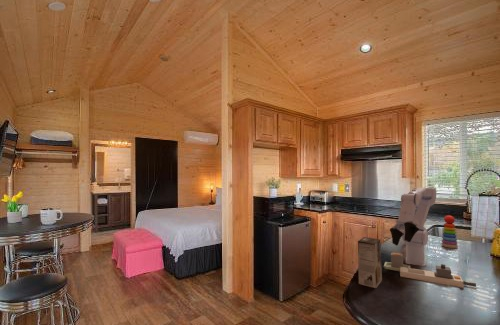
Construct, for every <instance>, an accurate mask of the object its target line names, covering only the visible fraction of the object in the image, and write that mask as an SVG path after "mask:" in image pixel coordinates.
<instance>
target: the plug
mask: <svg viewBox="0 0 500 325" xmlns="http://www.w3.org/2000/svg"><path fill="white" fill-rule="evenodd" d="M403 256H404V253H401V252H391V253H390V262H391V267H396V268H401V267H403V264H404V257H403Z"/></svg>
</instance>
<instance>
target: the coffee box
mask: <svg viewBox="0 0 500 325" xmlns="http://www.w3.org/2000/svg"><path fill="white" fill-rule="evenodd" d="M357 257H358V258H357V259H358V260H357V261H358V262H357V263H358V268H359V269H358V268H357V269H358V284H359V285H362V286H365V287H369V288H374V289H377V288H378V287H379V285H380V284H381V283H382V282H383V275H382V274H383V272H382V242H381V239H378V238H374V237H373V238H372V237H368V236H367V237H365V236H364V237H362V238H360V239H359V240H358V241H357Z"/></svg>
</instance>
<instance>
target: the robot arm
mask: <svg viewBox="0 0 500 325" xmlns="http://www.w3.org/2000/svg"><path fill="white" fill-rule="evenodd" d="M436 199H437V190H436V188H435V187H417V186H415V187H413V188H412V189H411V191H409V192H408V193H403V194H401V196H400V211H399V213H398V214H399V215H398V219H396V220H395V224H394V225H393V226H391V228H389V231H390V234H391V239H392V240H391V243H392V245H395V246H398V245H399V243H400V240H402V241H403V242H404V244H405V246H406V247H405V249H406V250H405V254H406V257H405V264H406V265H415V266H422V267H427V264H426V260H425V246H426V245H427V244H428V242H429V233H428V229H427V228H426V227H425V223H426V220H427V217H428V213H429V210H430V208H431V207H432V206H434V205H435V203H436Z"/></svg>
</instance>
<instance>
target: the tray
mask: <svg viewBox="0 0 500 325" xmlns="http://www.w3.org/2000/svg"><path fill="white" fill-rule="evenodd" d="M403 267H406V268H411V264H404V263H403ZM383 269H384V270H391V271H397V272H400V268H396V267H391V261H390V262H388V261H385V262H384V265H383Z"/></svg>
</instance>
